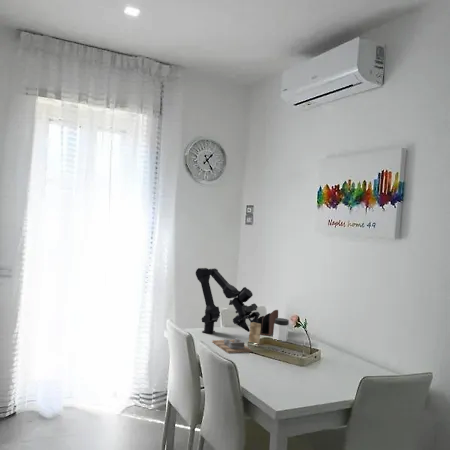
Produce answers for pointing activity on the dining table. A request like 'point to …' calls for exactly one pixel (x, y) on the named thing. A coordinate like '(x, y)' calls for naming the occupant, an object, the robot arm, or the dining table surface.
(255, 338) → the tan wooden block
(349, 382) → the dining table surface
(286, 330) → the jar
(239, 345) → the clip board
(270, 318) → the letter holder
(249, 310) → the robot arm
